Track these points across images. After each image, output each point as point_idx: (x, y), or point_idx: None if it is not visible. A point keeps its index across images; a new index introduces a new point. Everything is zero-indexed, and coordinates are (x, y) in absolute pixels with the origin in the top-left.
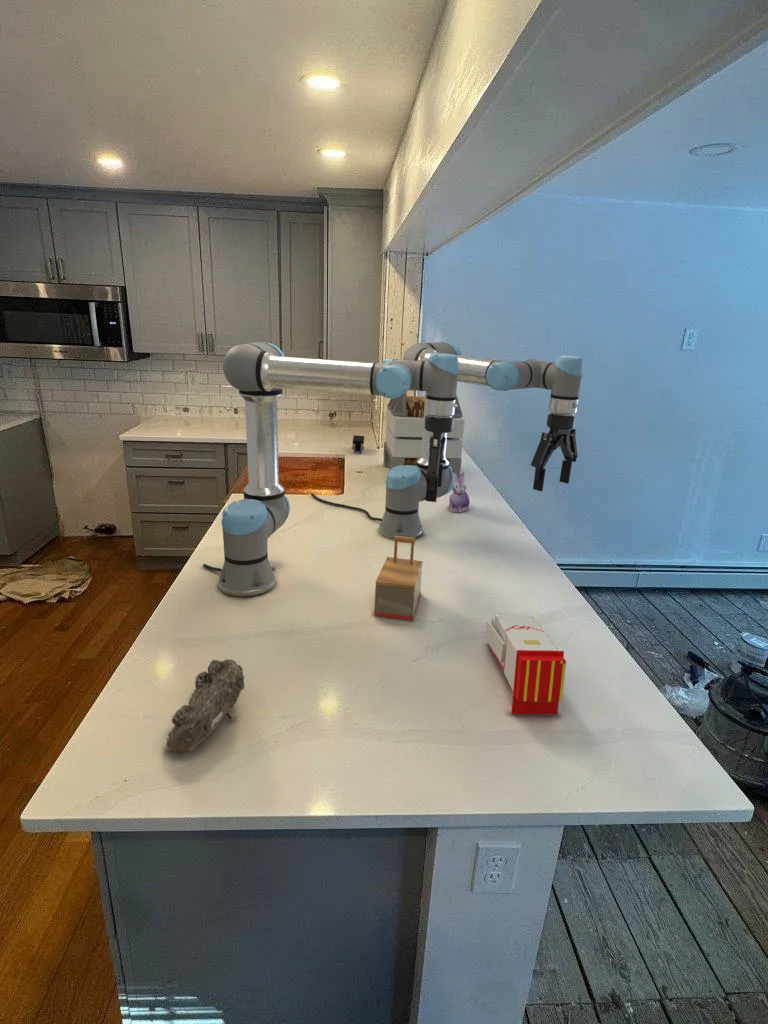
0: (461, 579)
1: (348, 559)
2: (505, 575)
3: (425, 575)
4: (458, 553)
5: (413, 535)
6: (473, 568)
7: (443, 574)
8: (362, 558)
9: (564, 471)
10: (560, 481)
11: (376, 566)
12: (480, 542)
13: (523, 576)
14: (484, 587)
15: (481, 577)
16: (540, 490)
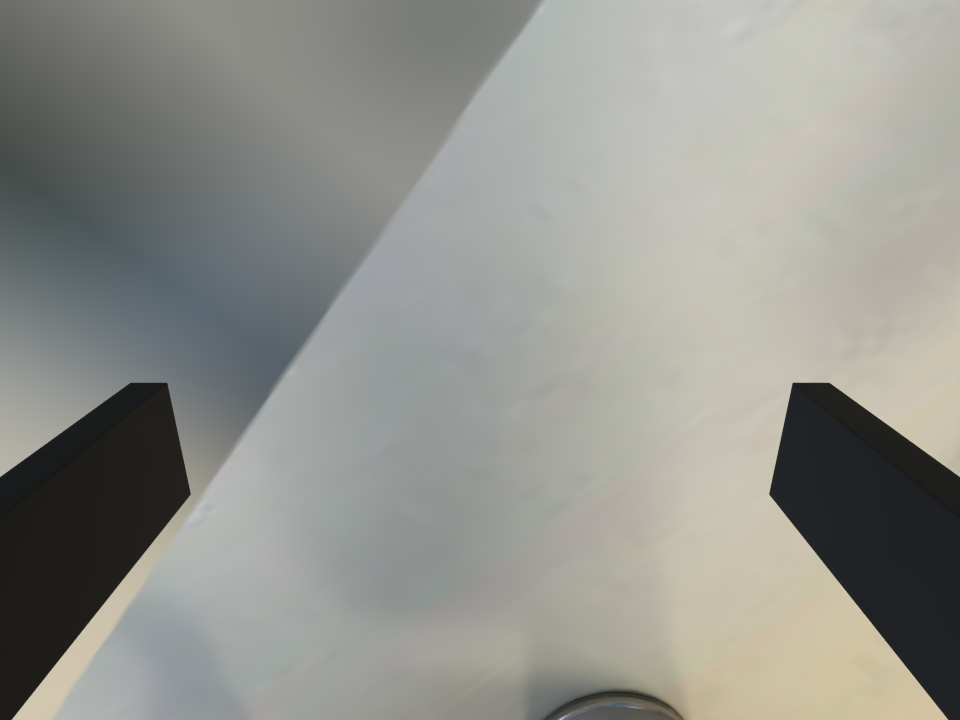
0: None
1: None
2: (624, 303)
3: None
4: (595, 537)
5: (631, 706)
6: (670, 421)
7: None
8: (893, 677)
9: (79, 555)
10: (187, 481)
11: None
12: (430, 554)
13: (570, 248)
14: (795, 285)
15: (720, 350)
16: (834, 395)
